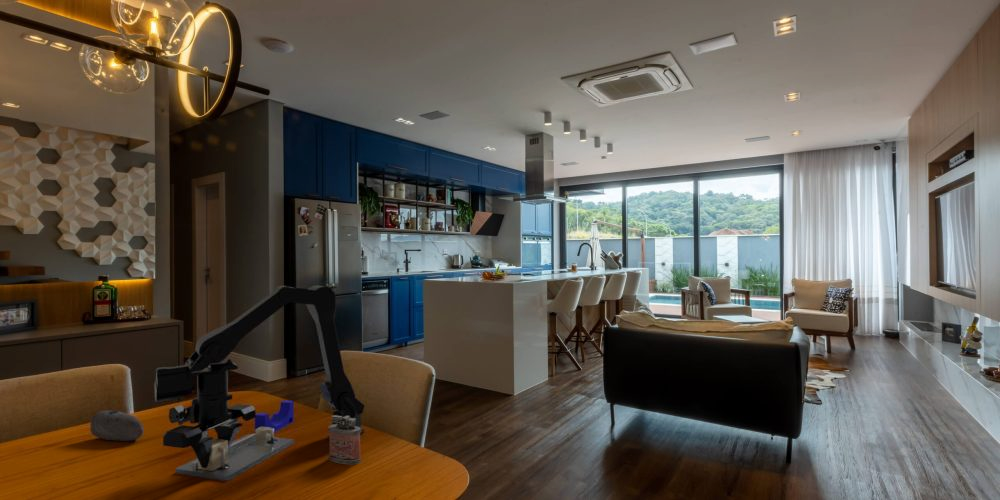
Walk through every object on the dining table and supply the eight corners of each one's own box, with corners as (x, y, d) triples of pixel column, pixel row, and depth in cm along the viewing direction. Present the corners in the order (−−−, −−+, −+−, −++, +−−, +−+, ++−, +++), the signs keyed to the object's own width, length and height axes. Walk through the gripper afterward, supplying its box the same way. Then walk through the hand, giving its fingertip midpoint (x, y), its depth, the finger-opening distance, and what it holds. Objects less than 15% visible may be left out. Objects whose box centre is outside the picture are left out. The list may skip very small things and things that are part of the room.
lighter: (364, 459, 107) (363, 415, 107) (355, 465, 104) (354, 420, 104) (335, 454, 110) (334, 412, 110) (325, 460, 107) (325, 417, 107)
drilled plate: (293, 443, 117) (293, 427, 117) (227, 481, 98) (227, 461, 98) (248, 438, 121) (248, 422, 121) (175, 473, 101) (175, 454, 101)
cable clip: (279, 421, 133) (279, 400, 133) (293, 422, 132) (293, 401, 132) (249, 437, 121) (249, 414, 121) (265, 438, 121) (265, 415, 121)
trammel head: (231, 463, 103) (231, 440, 103) (216, 471, 100) (216, 448, 100) (213, 460, 105) (213, 438, 105) (197, 468, 101) (197, 445, 101)
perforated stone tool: (151, 438, 121) (151, 411, 121) (130, 446, 116) (130, 418, 116) (109, 433, 125) (109, 407, 125) (87, 440, 120) (87, 413, 120)
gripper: (219, 378, 114) (219, 442, 114) (142, 402, 96) (142, 478, 96) (257, 381, 111) (257, 447, 111) (184, 406, 93) (185, 485, 93)
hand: (213, 463), depth 102 cm, fingers closed on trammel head, 4 cm apart
